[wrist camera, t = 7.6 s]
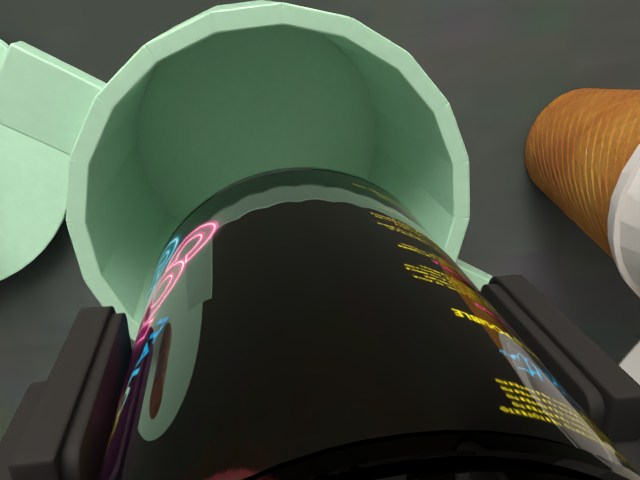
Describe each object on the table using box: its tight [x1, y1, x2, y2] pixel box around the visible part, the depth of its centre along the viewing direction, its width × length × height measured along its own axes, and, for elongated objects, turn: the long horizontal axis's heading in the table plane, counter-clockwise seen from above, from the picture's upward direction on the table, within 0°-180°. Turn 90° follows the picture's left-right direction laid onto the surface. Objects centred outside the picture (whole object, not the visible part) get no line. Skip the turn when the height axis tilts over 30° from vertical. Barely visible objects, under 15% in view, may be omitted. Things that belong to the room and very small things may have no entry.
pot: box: [0, 0, 493, 341], centre depth 25 cm, size 13×19×12 cm
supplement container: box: [99, 167, 640, 480], centre depth 9 cm, size 7×7×10 cm
